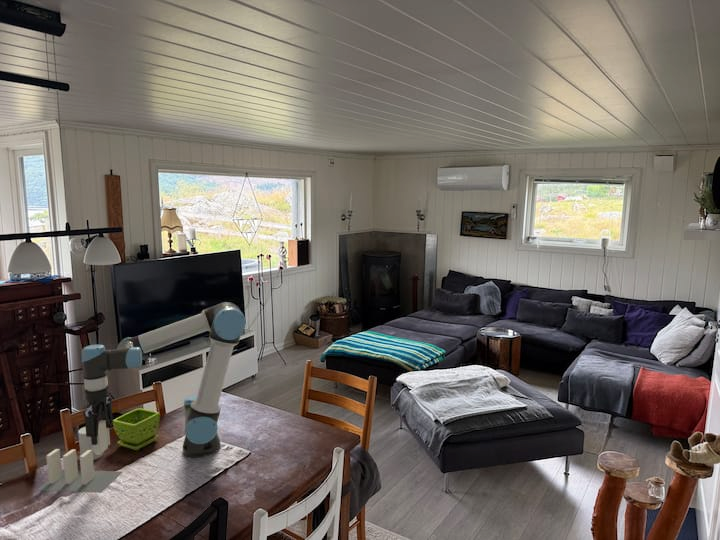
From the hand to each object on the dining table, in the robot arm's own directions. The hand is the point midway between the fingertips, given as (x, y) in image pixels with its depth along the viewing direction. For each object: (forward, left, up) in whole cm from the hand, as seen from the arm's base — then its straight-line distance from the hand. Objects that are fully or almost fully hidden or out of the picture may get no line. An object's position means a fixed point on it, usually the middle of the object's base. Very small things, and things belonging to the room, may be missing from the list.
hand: (101, 448), depth 181 cm
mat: (+9, 0, -14) cm, 17 cm away
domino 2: (+13, 0, -13) cm, 18 cm away
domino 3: (+6, 0, -13) cm, 15 cm away
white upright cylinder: (+17, -18, -14) cm, 28 cm away
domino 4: (0, 0, -1) cm, 1 cm away
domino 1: (+19, 0, -13) cm, 23 cm away
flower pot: (+3, -30, -14) cm, 33 cm away
